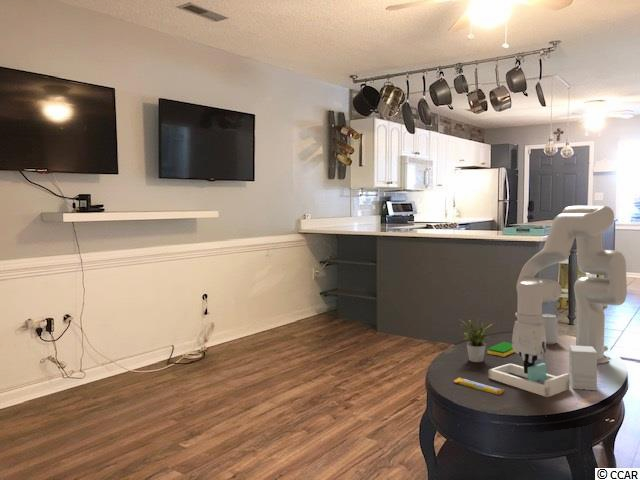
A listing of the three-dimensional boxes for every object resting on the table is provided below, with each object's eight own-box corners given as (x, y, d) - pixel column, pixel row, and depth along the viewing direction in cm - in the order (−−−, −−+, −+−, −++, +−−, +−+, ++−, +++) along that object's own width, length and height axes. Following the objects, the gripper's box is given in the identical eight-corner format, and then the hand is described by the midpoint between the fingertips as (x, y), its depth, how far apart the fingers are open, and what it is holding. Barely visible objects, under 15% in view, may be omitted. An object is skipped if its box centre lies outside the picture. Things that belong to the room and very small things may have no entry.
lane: (510, 371, 185) (510, 357, 184) (569, 389, 167) (569, 373, 166) (488, 378, 178) (488, 363, 178) (547, 397, 160) (547, 381, 160)
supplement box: (592, 383, 171) (593, 346, 170) (596, 391, 164) (597, 352, 163) (568, 381, 174) (569, 344, 173) (571, 388, 167) (572, 350, 166)
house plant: (446, 360, 199) (446, 318, 198) (463, 352, 209) (464, 312, 208) (481, 368, 189) (482, 324, 188) (497, 359, 199) (498, 317, 198)
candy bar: (506, 393, 165) (506, 388, 165) (499, 397, 162) (499, 391, 162) (460, 381, 177) (460, 375, 177) (453, 384, 174) (453, 378, 174)
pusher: (542, 382, 172) (543, 362, 172) (557, 387, 168) (557, 366, 167) (527, 387, 168) (527, 367, 167) (542, 392, 163) (542, 371, 163)
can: (540, 344, 218) (541, 316, 217) (536, 339, 226) (536, 312, 225) (559, 345, 217) (560, 317, 216) (554, 340, 224) (555, 313, 224)
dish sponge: (519, 350, 212) (519, 344, 212) (504, 358, 202) (504, 351, 202) (503, 347, 217) (503, 341, 217) (487, 354, 207) (487, 348, 207)
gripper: (503, 316, 175) (502, 369, 176) (543, 324, 162) (542, 381, 163) (516, 313, 179) (516, 365, 180) (557, 321, 166) (556, 376, 168)
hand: (529, 372), depth 172 cm, fingers closed
